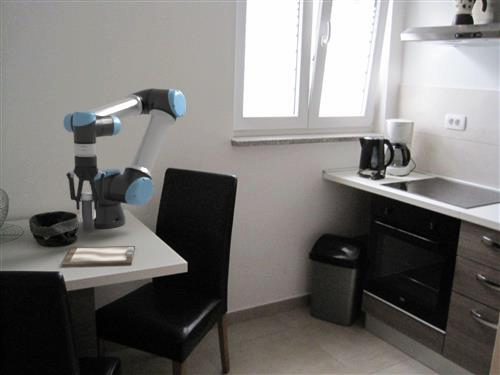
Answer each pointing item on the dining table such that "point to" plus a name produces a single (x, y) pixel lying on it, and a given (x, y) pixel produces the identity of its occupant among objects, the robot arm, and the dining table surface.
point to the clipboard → (100, 256)
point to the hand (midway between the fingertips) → (87, 218)
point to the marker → (87, 212)
